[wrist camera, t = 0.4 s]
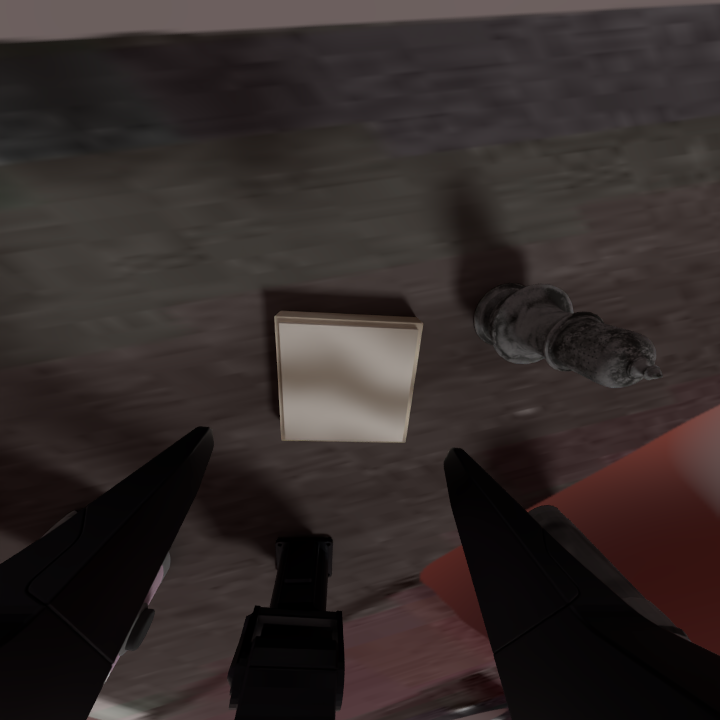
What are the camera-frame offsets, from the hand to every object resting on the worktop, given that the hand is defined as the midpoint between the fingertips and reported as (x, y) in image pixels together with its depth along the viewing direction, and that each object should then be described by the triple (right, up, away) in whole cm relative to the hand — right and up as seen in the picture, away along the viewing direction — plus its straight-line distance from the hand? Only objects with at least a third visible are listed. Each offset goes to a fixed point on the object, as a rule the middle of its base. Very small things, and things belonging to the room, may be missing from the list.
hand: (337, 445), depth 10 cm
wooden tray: (0, +2, +14) cm, 14 cm away
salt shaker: (+13, +7, +12) cm, 19 cm away
